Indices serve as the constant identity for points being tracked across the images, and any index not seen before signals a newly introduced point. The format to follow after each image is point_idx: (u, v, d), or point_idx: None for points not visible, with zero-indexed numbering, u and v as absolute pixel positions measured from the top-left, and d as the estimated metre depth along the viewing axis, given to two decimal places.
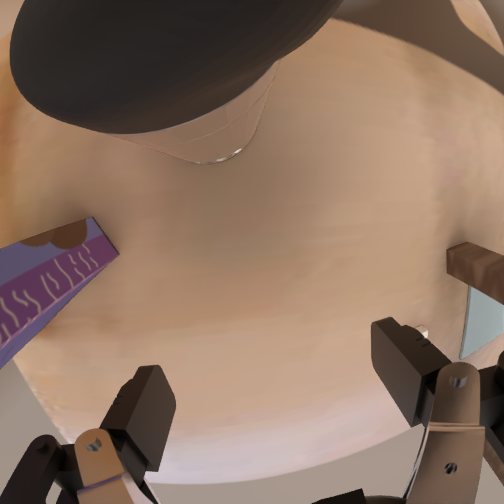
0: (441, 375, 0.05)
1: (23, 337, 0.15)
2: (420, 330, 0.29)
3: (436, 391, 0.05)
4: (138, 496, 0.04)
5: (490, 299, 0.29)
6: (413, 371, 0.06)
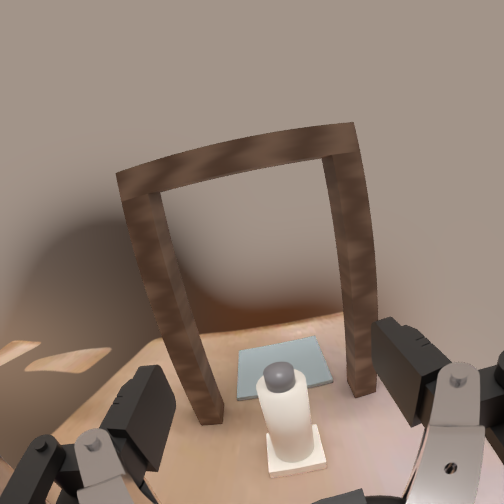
0: (441, 375, 0.05)
1: None
2: None
3: (436, 391, 0.05)
4: (138, 496, 0.04)
5: None
6: (413, 371, 0.06)
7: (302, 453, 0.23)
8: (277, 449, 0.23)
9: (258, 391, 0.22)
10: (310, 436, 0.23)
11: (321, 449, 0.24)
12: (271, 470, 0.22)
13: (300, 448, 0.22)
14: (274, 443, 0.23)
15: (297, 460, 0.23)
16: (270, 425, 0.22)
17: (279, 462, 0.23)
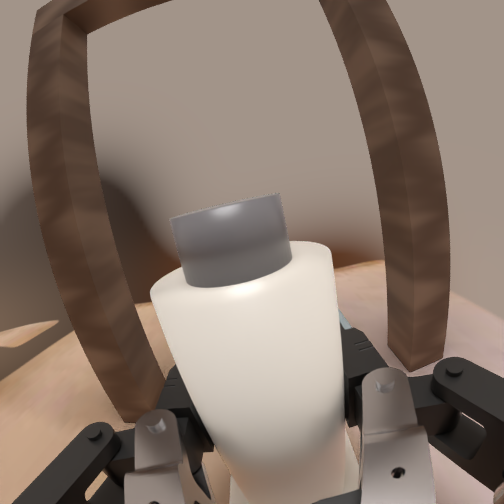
0: (365, 383, 0.06)
1: None
2: None
3: (363, 400, 0.05)
4: (190, 488, 0.04)
5: None
6: None
7: None
8: (247, 496, 0.07)
9: (155, 290, 0.06)
10: (341, 463, 0.07)
11: None
12: None
13: (312, 497, 0.06)
14: (237, 482, 0.07)
15: None
16: (212, 433, 0.06)
17: None
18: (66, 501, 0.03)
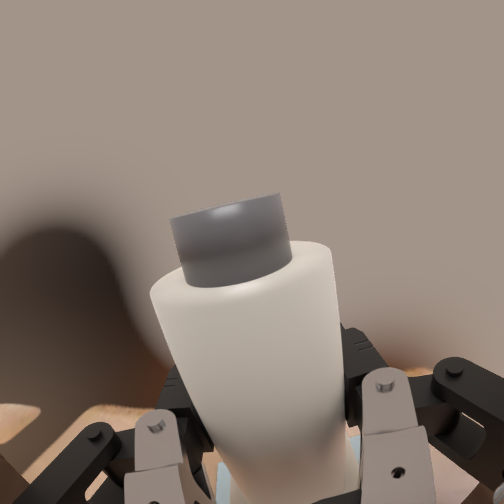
0: (365, 383, 0.06)
1: None
2: None
3: (363, 400, 0.05)
4: (190, 488, 0.04)
5: None
6: None
7: None
8: (247, 496, 0.07)
9: (154, 290, 0.06)
10: (341, 463, 0.07)
11: None
12: None
13: (312, 497, 0.06)
14: (237, 482, 0.07)
15: None
16: (212, 433, 0.06)
17: None
18: (66, 501, 0.03)
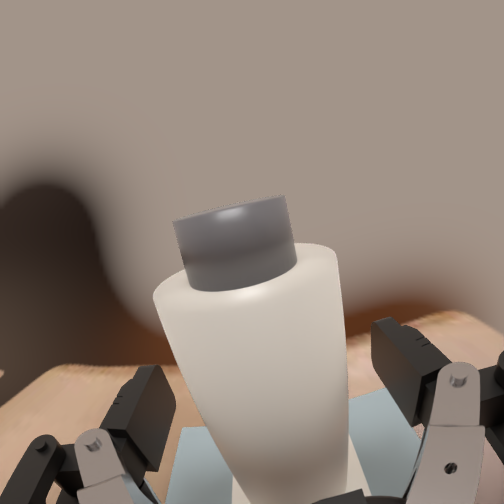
0: (441, 375, 0.05)
1: None
2: None
3: (436, 391, 0.05)
4: (138, 496, 0.04)
5: None
6: (413, 371, 0.06)
7: None
8: (250, 498, 0.07)
9: (157, 294, 0.06)
10: (344, 465, 0.07)
11: (364, 488, 0.08)
12: None
13: (315, 498, 0.06)
14: (240, 484, 0.07)
15: None
16: (215, 437, 0.06)
17: None
18: None
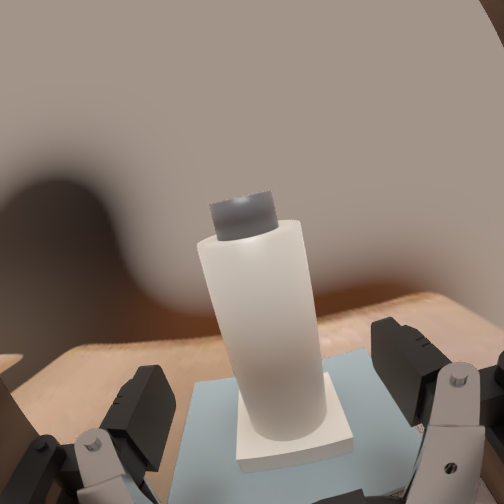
0: (441, 375, 0.05)
1: None
2: None
3: (436, 391, 0.05)
4: (138, 496, 0.04)
5: None
6: (413, 371, 0.06)
7: (303, 419, 0.12)
8: (252, 409, 0.12)
9: (199, 245, 0.11)
10: (319, 378, 0.12)
11: (341, 414, 0.13)
12: (240, 456, 0.11)
13: (299, 404, 0.11)
14: (244, 394, 0.12)
15: (294, 435, 0.12)
16: (230, 340, 0.11)
17: (258, 440, 0.12)
18: None
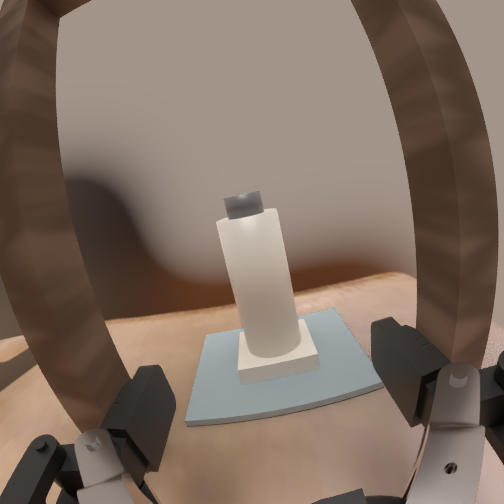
0: (441, 375, 0.05)
1: None
2: None
3: (436, 391, 0.05)
4: (138, 496, 0.04)
5: None
6: (413, 371, 0.06)
7: (282, 338, 0.20)
8: (248, 332, 0.21)
9: (218, 222, 0.20)
10: (292, 309, 0.20)
11: (310, 341, 0.21)
12: (241, 367, 0.20)
13: (278, 325, 0.20)
14: (244, 320, 0.20)
15: (277, 352, 0.20)
16: (235, 278, 0.20)
17: (253, 358, 0.21)
18: None
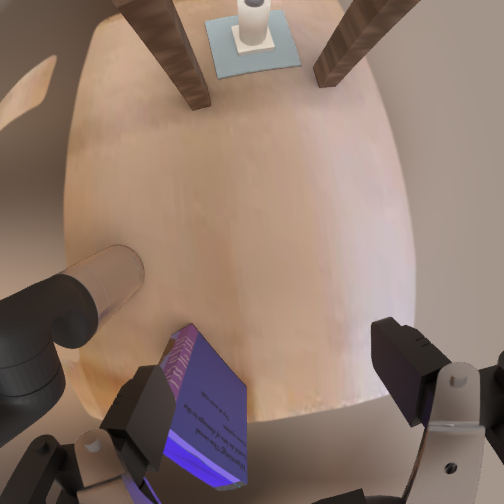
0: (441, 375, 0.05)
1: (205, 387, 0.38)
2: (232, 31, 0.36)
3: (436, 391, 0.05)
4: (138, 496, 0.04)
5: None
6: (413, 371, 0.06)
7: (260, 40, 0.35)
8: (244, 37, 0.34)
9: (240, 5, 0.26)
10: (266, 30, 0.33)
11: (271, 38, 0.36)
12: (239, 51, 0.36)
13: (260, 37, 0.33)
14: (243, 34, 0.33)
15: (256, 44, 0.36)
16: (244, 24, 0.30)
17: (244, 45, 0.36)
18: None
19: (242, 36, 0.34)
